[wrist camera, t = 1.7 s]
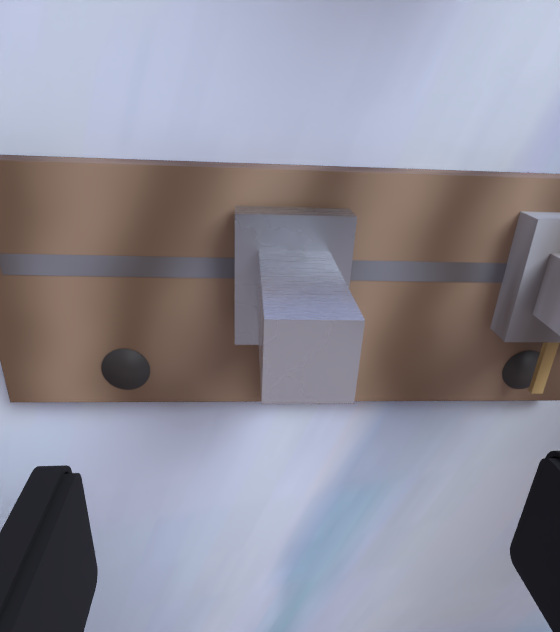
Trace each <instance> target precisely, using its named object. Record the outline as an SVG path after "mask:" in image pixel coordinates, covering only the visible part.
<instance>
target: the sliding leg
mask: <svg viewBox="0 0 560 632" xmlns="http://www.w3.org/2000/svg"><path fill="white" fill-rule="evenodd" d="M356 223H357V216H356V215H355V214H354V213H353V212H352V210H351V209H344V208H308V207H272V206H235V345H259V361H260V381H261V401H262V404H339V403H354V401H355V393H356V385H357V378H358V370H359V363H360V355H361V347H362V340H363V332H364V325H365V319H364V317H363V315H362V313H361V311H360V309H359V308H358V306H357V304H356V302H355V300H354V298H353V296H352V294H351V292H350V290H349V286H350V277H351V268H352V259H353V250H354V241H355V232H356Z"/></svg>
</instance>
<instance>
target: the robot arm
mask: <svg viewBox="0 0 560 632" xmlns="http://www.w3.org/2000/svg"><path fill="white" fill-rule="evenodd" d="M510 556H511V560H512V563H513V565H514V567H515V569H516V570H517V572H518V574H519V575H520V577H521V579H522V580H523V582H524V584H525V585H526V587H527V589H528V590H529V592H530V594H531V596H532V597H533V599H534V601H535V602H536V604H537V606H538V607H539V609H540V611H541V612H542V614H543V616H544V618H545V619H546V621H547V623H548V624H549V626H550V628H551V629H552V631H553V632H560V451H551V452H549V453H548V454H547V456H546V458H545V459H542V460H541V461H540V463H539V466H538V469H537V472H536V474H535V477H534V480H533V483H532V486H531V489H530V492H529V494H528V497H527V500H526V503H525V506H524V509H523V512H522V514H521V517H520V520H519V523H518V526H517V529H516V532H515V534H514V537H513V540H512V543H511V546H510ZM96 583H97V563H96V557H95V551H94V546H93V540H92V535H91V529H90V523H89V518H88V512H87V506H86V501H85V495H84V489H83V484H82V478H81V475H80V474H79V473H72V471H71V468H70V467H69V466H37V467H36V468H35V469H34V470H33V472H32V473H31V475H30V477H29V479H28V481H27V483H26V485H25V486H24V488H23V490H22V492H21V494H20V496H19V498H18V500H17V502H16V504H15V505H14V507H13V509H12V511H11V513H10V515H9V517H8V519H7V521H6V523H5V524H4V526H3V528H2V530H1V532H0V632H84V628H85V625H86V621H87V617H88V614H89V610H90V606H91V603H92V599H93V596H94V592H95V588H96Z"/></svg>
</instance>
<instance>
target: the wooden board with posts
mask: <svg viewBox="0 0 560 632" xmlns="http://www.w3.org/2000/svg"><path fill="white" fill-rule="evenodd" d="M235 206H272V207H308V208H344V209H351V210H352V212H353V213H354V214H355V215H356V216H357V223H356V232H355V241H354V250H353V259H352V268H351V277H350V286H349V290H350V292H351V294H352V296H353V298H354V300H355V302H356V304H357V306H358V308H359V309H360V311H361V313H362V315H363V317H364V319H365V325H364V332H363V340H362V347H361V355H360V363H359V370H358V378H357V385H356V393H355V401H513V400H560V174H544V173H514V172H485V171H456V170H427V169H398V168H368V167H339V166H310V165H281V164H252V163H223V162H193V161H164V160H135V159H106V158H77V157H47V156H18V155H0V361H1V365H2V369H3V373H4V377H5V382H6V386H7V390H8V394H9V398H10V402H228V401H261V381H260V361H259V345H235Z"/></svg>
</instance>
